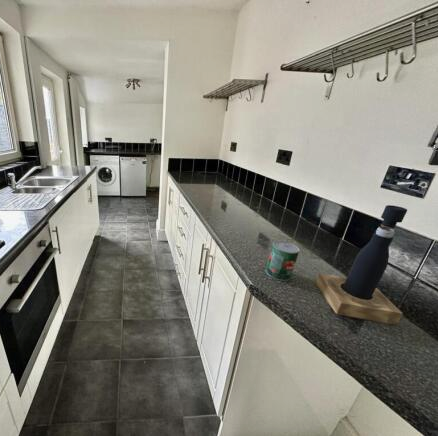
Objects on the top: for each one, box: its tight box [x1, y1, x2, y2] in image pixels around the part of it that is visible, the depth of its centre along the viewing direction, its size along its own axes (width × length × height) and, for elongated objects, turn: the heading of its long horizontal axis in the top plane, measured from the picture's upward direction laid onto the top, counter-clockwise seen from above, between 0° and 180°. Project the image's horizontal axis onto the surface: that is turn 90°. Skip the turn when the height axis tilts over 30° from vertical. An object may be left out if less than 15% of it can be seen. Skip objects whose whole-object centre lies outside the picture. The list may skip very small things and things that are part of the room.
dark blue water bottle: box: [342, 204, 408, 300], centre depth 63 cm, size 6×6×30 cm
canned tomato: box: [265, 240, 301, 282], centre depth 79 cm, size 8×8×11 cm
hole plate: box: [315, 273, 404, 326], centre depth 68 cm, size 14×14×4 cm
